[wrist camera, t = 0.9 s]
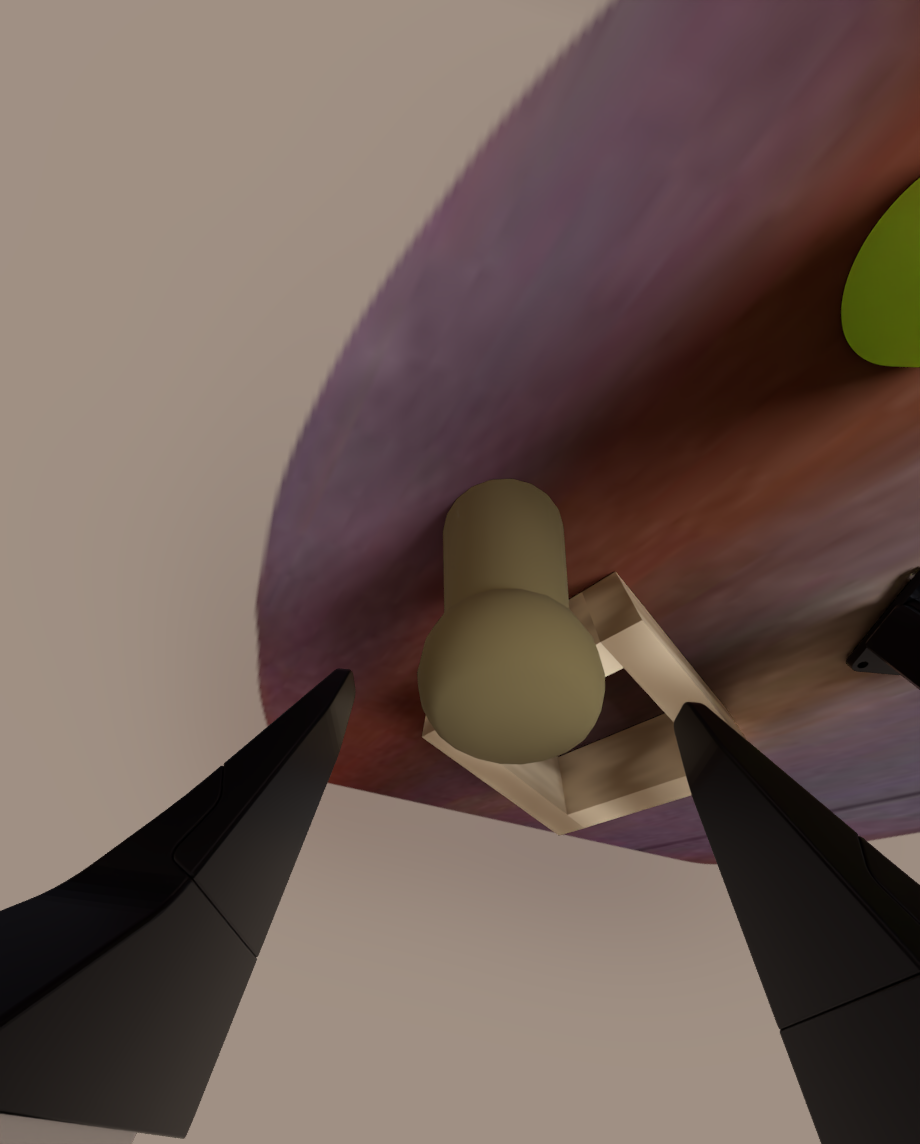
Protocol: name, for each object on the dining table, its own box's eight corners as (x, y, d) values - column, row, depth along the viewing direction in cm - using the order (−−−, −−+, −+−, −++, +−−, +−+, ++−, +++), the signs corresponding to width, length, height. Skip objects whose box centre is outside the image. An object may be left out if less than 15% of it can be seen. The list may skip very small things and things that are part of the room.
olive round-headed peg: (527, 602, 20) (555, 817, 11) (426, 562, 20) (363, 757, 10) (588, 509, 17) (699, 695, 8) (471, 457, 16) (440, 595, 7)
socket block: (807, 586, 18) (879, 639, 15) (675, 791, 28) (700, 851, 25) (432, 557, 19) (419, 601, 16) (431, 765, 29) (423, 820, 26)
